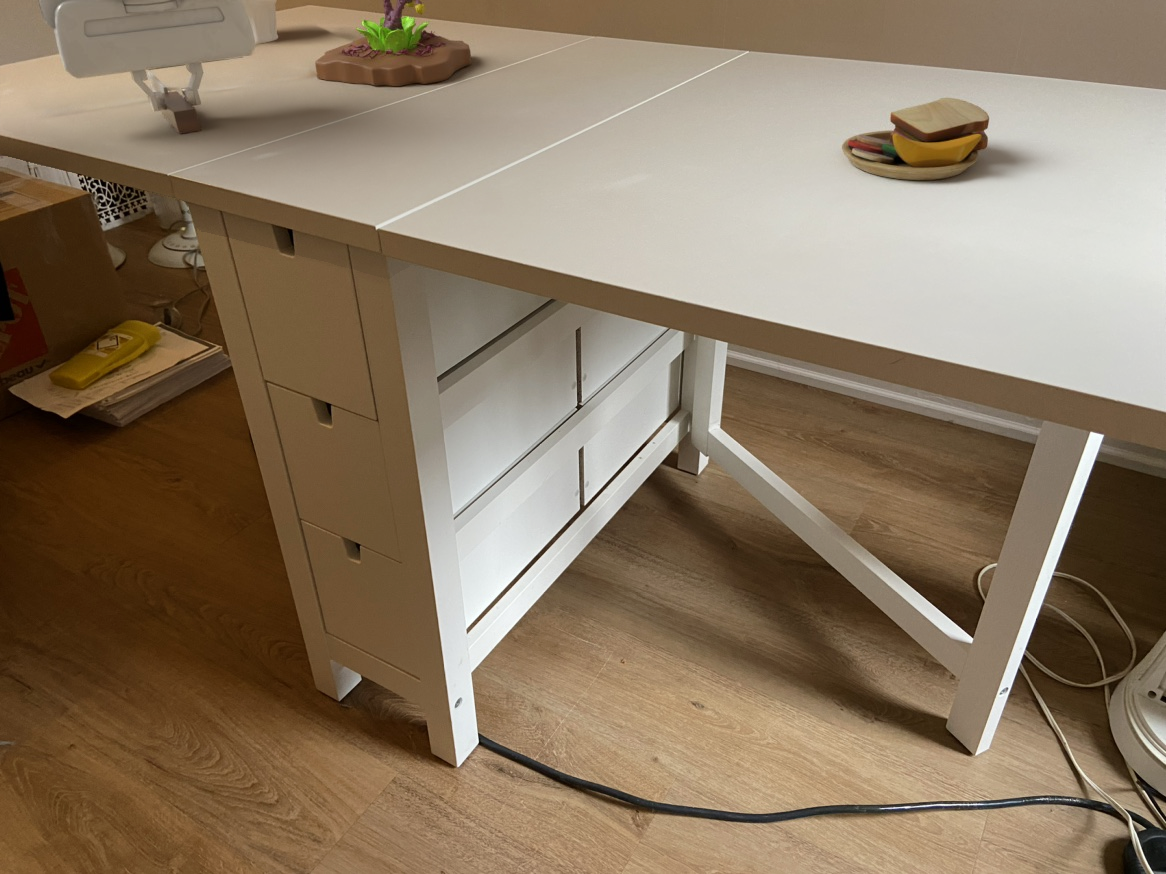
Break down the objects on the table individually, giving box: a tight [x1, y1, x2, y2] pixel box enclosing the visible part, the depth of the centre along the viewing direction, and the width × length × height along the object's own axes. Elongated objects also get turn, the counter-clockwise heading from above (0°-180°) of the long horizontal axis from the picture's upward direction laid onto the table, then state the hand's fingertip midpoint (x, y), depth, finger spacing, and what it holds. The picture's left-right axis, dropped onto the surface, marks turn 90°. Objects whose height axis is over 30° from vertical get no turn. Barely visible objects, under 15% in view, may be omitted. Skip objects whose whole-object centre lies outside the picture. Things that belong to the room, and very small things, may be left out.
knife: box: [147, 71, 202, 135], centre depth 105 cm, size 20×2×3 cm, turn 32°
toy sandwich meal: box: [841, 97, 990, 181], centre depth 83 cm, size 12×14×5 cm
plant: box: [315, 0, 472, 87], centre depth 119 cm, size 20×20×11 cm
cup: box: [241, 0, 279, 45], centre depth 135 cm, size 12×12×11 cm
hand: (177, 107), depth 101 cm, fingers closed on knife, 2 cm apart
